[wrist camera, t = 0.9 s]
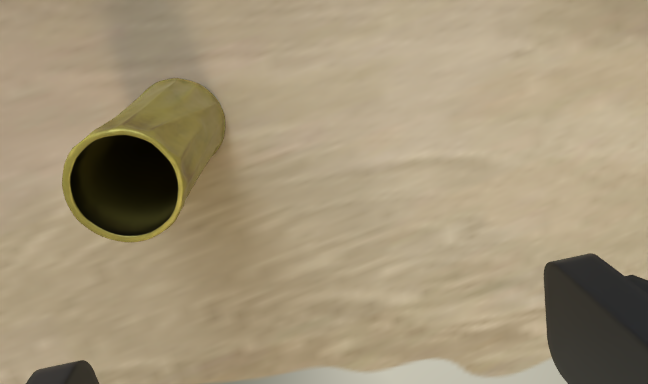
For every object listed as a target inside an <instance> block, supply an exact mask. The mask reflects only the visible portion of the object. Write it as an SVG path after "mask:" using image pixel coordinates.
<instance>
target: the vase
mask: <svg viewBox="0 0 648 384" xmlns="http://www.w3.org/2000/svg"><path fill="white" fill-rule="evenodd" d="M224 132H225V118H224V114H223V111H222V108H221V106H220V104H219V102H218V101H217V99H216V98H215V97H214V96H213V95H212V94H211V93H210V92H209V91H208V90H207V89H206V88H204V87H203V86H201V85H200V84H197V83H195V82H192V81H188V80H184V79H179V78H174V79H167V80H163V81H159V82H157V83H155V84H154V85H152V86H151V87H149V88H148V89H147V90H146V91H145V92H144V93H143V94H142V95H141V96H140V97H139V98H138V99H136V100H135V101H134V102H133V103H132V104H131V105H130V106H128V107H127V108H126V109H125V110H124V111H122V112H121V113H120V114H119V115H118V116H117V117H115V118H113V119H112V120H111V121H109V122H107V123H106V124H104V125H102V126H101V127H99V128H97V129H96V130H94V131H93V132H92V133H90V134H89V135H88V136H87V137H86V138H85V139H83V140H82V141H81V142H80V143H79V144H77V145H76V146H75V147H73V148H72V150H71V151H70V153H69V155H68V157H67V159H66V162H65V164H64V170H63V178H62V187H63V193H64V196H65V199H66V202H67V204H68V206H69V208H70V210H71V211H72V213H73V215H74V216H75V217H76V219H77V220H78V221H79V222H80V223H81V224H83V225H84V226H85V227H87V228H88V229H90V230H91V231H93V232H94V233H96V234H98V235H100V236H102V237H105V238H108V239H112V240H116V241H121V242H139V241H144V240H147V239H150V238H153V237H155V236H157V235H158V234H160V233H162V232H163V231H165V230H166V229H167V228H169V227H170V226H171V225H172V224H173V223H174V222H175V220H176V219H177V217H178V215H179V213H180V211H181V209H182V207H183V206H184V203H185V200H186V198H187V196H188V195H189V193H190V191H191V189H192V187H193V186H194V184H195V182H196V180H197V179H198V177H199V175H200V174H201V172H202V170H203V169H204V167H205V166H206V164H207V163H208V161H209V159H210V158H211V157H212V156H213V155H214V154H215V152H216V151H217V150H218V148H219V147H220V145H221V143H222V141H223V138H224Z"/></svg>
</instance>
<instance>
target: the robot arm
mask: <svg viewBox="0 0 648 384" xmlns="http://www.w3.org/2000/svg"><path fill="white" fill-rule="evenodd" d="M544 289H545V306H546V324H547V339H548V345H549V349H550V353H551V356H552V358H553V361H554V363H555V365H556V367H557V369H558V371H559V372H560V374H561V375H562V377H563V378H564V379H565V380H566V382H567V383H568V384H648V280H645V279H642V278H640V277H637V276H634V275H629V276H624V275H622V274H621V273H620V272H618V271H617V270H616V269H614V268H613V267H612V266H610V265H609V264H608V263H606V262H605V261H604V260H602V259H601V258H600V257H598V256H597V255H595V254H585V255H581V256H576V257H571V258H566V259H562V260H557V261H552V262H549V263H547V264H546V266H545V269H544ZM26 384H99V382H98V380H97V377H96V375H95V372H94V370H93V368H92V367H91V365H90V364H89V363H88V362H86V361H84V360H81V361H76V362H71V363H67V364H62V365H57V366H53V367H48V368H43V369H39V370H37V371H35V372H34V373H33V374H32V376H31V377H30V378H29V380H28V381H27V383H26Z"/></svg>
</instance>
